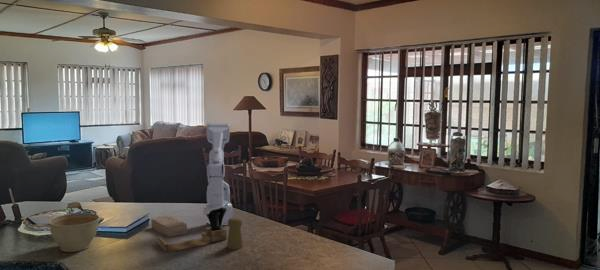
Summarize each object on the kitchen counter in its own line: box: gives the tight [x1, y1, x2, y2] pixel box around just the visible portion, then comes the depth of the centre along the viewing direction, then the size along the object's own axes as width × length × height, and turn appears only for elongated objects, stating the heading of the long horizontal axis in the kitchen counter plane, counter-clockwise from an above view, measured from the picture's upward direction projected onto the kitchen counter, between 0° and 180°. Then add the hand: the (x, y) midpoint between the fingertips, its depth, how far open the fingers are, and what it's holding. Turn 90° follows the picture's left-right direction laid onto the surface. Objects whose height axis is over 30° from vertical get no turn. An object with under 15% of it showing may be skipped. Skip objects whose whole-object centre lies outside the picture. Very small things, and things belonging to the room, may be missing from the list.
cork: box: [226, 216, 244, 250], centre depth 160 cm, size 6×6×11 cm
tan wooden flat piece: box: [157, 231, 212, 253], centre depth 163 cm, size 17×11×2 cm, turn 123°
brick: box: [150, 214, 188, 238], centre depth 179 cm, size 17×8×5 cm, turn 44°
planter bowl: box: [48, 212, 100, 253], centre depth 157 cm, size 16×16×11 cm
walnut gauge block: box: [205, 226, 227, 243], centre depth 169 cm, size 6×6×4 cm
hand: (216, 227), depth 169 cm, fingers closed on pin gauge, 2 cm apart
